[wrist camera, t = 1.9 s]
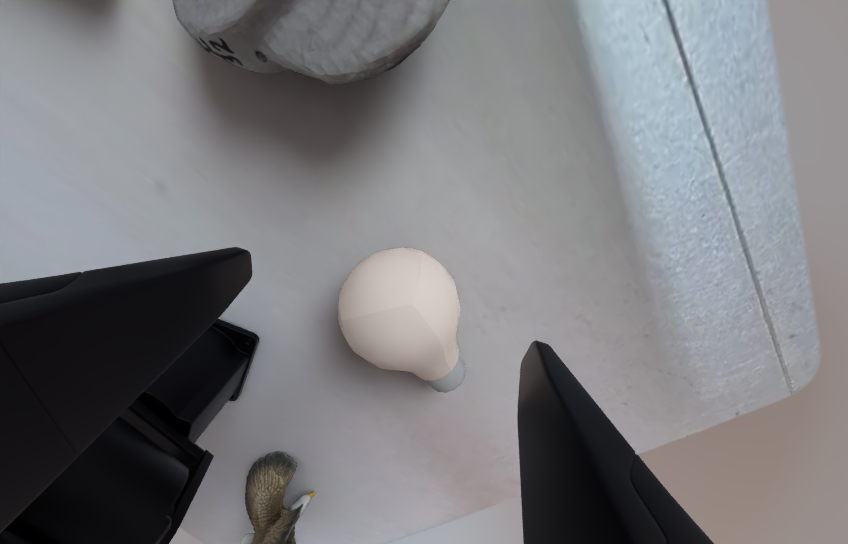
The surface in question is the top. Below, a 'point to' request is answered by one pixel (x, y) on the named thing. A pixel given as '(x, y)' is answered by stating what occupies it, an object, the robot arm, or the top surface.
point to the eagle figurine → (272, 501)
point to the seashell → (311, 34)
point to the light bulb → (404, 316)
